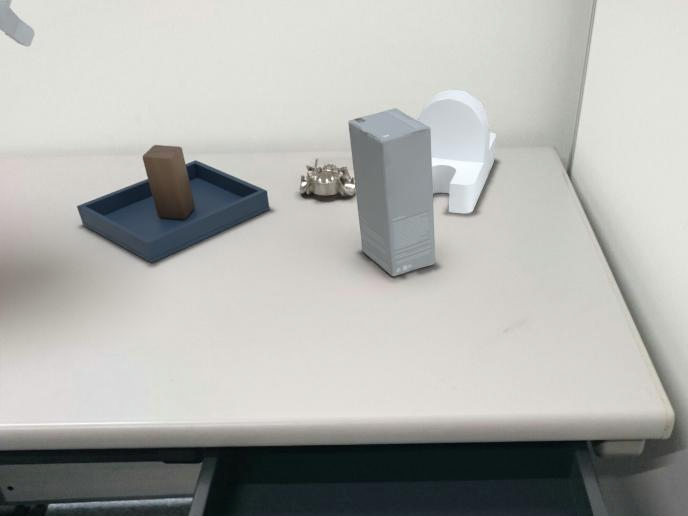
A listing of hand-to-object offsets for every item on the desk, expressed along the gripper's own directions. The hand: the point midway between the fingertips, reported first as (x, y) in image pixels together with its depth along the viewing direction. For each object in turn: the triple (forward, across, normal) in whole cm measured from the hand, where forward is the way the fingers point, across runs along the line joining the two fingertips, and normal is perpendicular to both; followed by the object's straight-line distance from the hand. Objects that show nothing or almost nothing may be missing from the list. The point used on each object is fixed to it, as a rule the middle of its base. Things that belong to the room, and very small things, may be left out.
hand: (4, 29), depth 74 cm
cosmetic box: (+35, -30, -1) cm, 46 cm away
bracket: (+51, -21, -16) cm, 57 cm away
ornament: (+41, -10, -6) cm, 43 cm away
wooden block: (+27, 0, +7) cm, 28 cm away
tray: (+27, 0, +7) cm, 28 cm away
